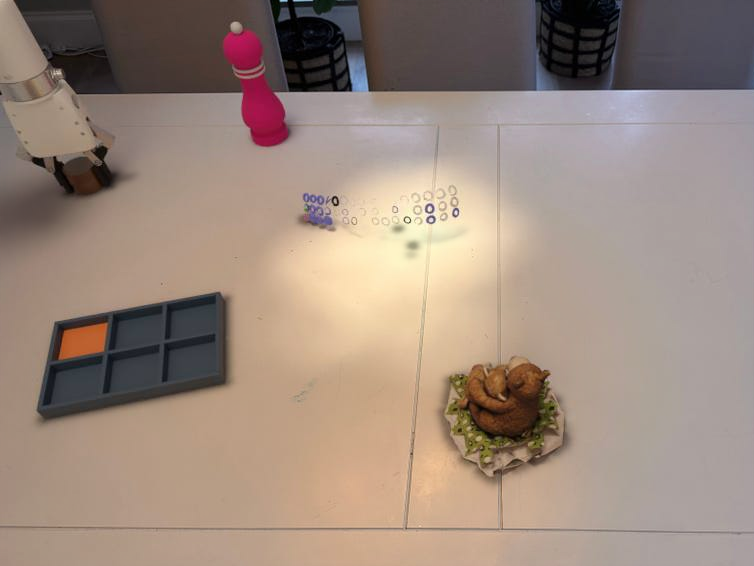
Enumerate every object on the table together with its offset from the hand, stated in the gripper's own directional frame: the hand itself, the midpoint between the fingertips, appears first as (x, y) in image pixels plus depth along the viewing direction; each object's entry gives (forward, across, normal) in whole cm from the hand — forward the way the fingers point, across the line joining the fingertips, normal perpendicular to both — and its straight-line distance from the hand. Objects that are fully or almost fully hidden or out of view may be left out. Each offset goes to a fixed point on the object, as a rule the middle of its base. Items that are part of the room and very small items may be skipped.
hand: (88, 183), depth 111 cm
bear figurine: (+1, -55, +61) cm, 82 cm away
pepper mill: (+1, -30, -6) cm, 31 cm away
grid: (0, -11, +40) cm, 41 cm away
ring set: (+1, -45, +24) cm, 51 cm away
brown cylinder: (0, 0, 0) cm, 0 cm away
